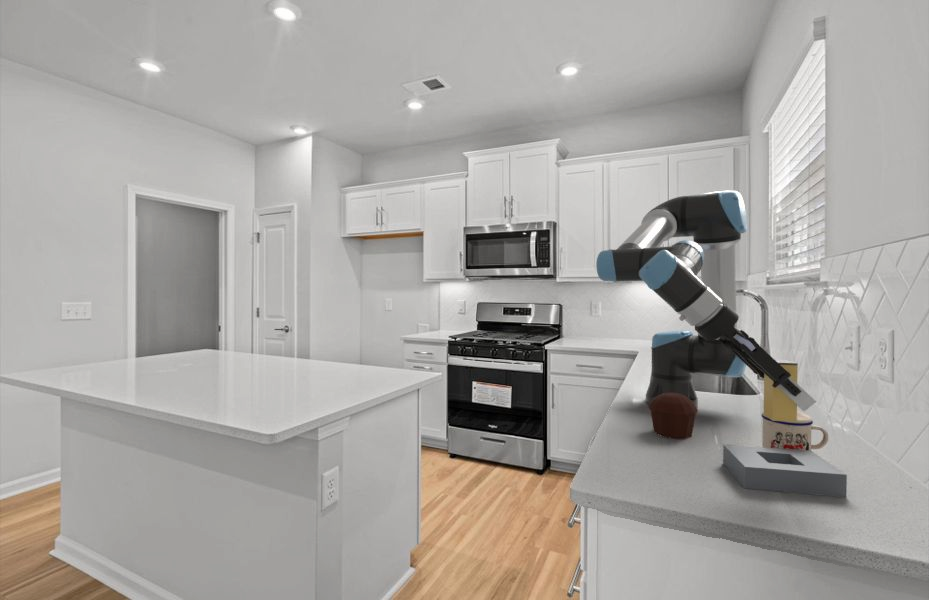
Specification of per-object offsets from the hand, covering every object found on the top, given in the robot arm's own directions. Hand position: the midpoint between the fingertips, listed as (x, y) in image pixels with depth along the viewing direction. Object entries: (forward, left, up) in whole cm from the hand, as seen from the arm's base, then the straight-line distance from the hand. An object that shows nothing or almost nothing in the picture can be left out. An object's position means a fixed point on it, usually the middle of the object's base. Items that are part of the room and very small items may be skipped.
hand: (802, 402), depth 85 cm
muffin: (-25, -18, -15) cm, 34 cm away
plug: (0, -4, -3) cm, 5 cm away
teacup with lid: (-13, +4, -15) cm, 21 cm away
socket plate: (0, -4, -15) cm, 15 cm away
